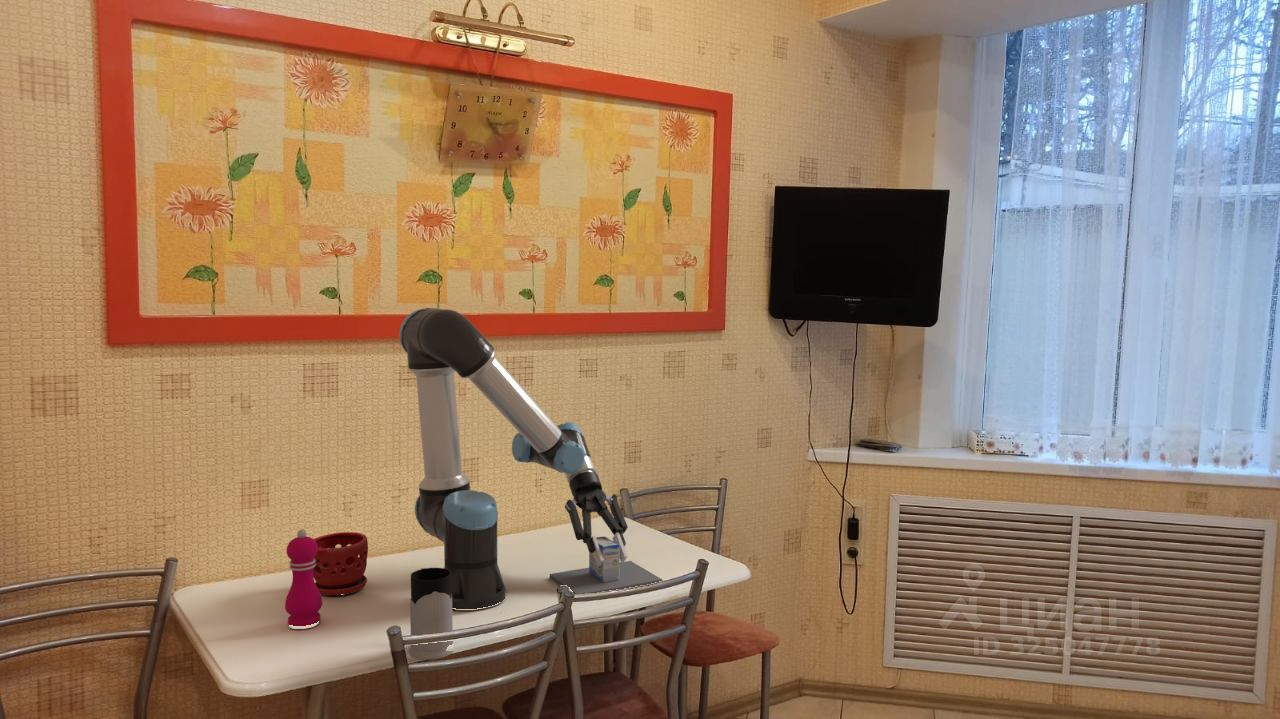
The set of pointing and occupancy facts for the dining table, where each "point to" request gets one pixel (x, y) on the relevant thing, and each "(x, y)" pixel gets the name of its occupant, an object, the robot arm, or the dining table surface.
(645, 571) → the rubber mat
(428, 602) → the glass holder
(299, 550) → the pepper mill
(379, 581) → the dining table surface
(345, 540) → the plant pot
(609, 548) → the medicine box
